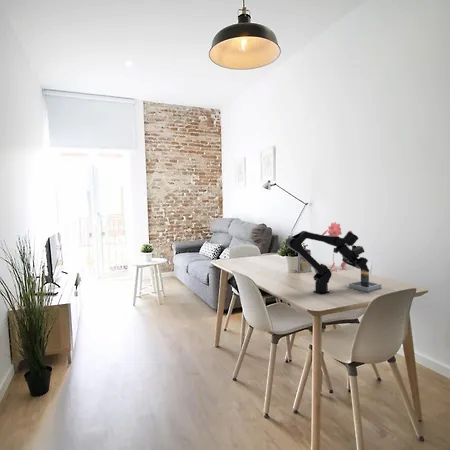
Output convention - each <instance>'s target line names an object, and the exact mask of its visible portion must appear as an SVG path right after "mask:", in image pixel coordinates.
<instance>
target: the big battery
mask: <svg viewBox="0 0 450 450" xmlns="http://www.w3.org/2000/svg"><path fill="white" fill-rule="evenodd" d="M360 281H361V286H364V287H369V282H370V271H369V272H366V271H364V270H362V269H360Z"/></svg>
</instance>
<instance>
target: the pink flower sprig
mask: <svg viewBox="0 0 450 450" xmlns="http://www.w3.org/2000/svg"><path fill="white" fill-rule="evenodd" d="M348 232H351V233H353V231H352V230H349V231H347V233H348ZM327 233H328V235H332V236H338V237H340V236H341V235H343V233H342V228H341V224H340V223H337V222H336V221H335V222H331V223H330V225H329V226H328V229H326V230H325V231H324V232H323V233H322V234H321V235H325V234H327ZM353 234H354V233H353ZM325 236H326V235H325ZM335 254H336V253H335V252H333V254H332V265H331V266H330V267H328V266H327V267H328V269H330V271H331V270H332V269H333V268H334V270H335V272H337V269H336V265H335V262H334V261H335V260H334V258H335V257H334V256H335ZM346 265H347V264H346V263H344V262H343V261H342V262H341V264H340V267H341V268H342V269H344V268H345V271H347V270H348V269H347V267H346ZM352 269H354V267H353V268H352Z"/></svg>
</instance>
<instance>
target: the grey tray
mask: <svg viewBox="0 0 450 450" xmlns="http://www.w3.org/2000/svg"><path fill="white" fill-rule="evenodd" d="M348 288H349V289H352V290H357V291H360V292H365V293H370V292H375V291H377V290H381V289H382V284H381V283H376V282H372V281H369V287H364V286H361V280H359V281H354V282H350V283H348Z"/></svg>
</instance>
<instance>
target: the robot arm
mask: <svg viewBox="0 0 450 450" xmlns="http://www.w3.org/2000/svg"><path fill="white" fill-rule="evenodd" d="M307 239H308V240H314V241H317V242H323V243H325V244H327V245H329V246H332V247H333V253H334V252H335V253H334V254H338V253H339V254H340V255H341V257H342V262H344V263H346V265H349V266H350V267H351V266H352V267H353V268H356V269H358V270H361V269H362V270H364V271H366V272H369V273H370V269H369V267H368V264H367V263H368V262H369V259H367V258H366V257H364V256H360V255H361V254H363V253H366V252H365V248H364V246H361V245H355V243H356V242H357V241H358V240H359V236H357V235H356V234H354V233H351V232H348V231H347V233H346V234H345V235H344V236H343V237H340V236H339V237H338V236H332V235H329V234H328V235H322V234H320V233H313V232H311V231H310V232H309V231H307V230H302V231H300V232H297V234H295V235H293V236H290V237H288V238H287V239H286V240H285V245H286V246H287V248H289V249H290V250H292V251H294V252H295V253H296V252H297V253H298V254H299V255H300V256H301V257H302V258H303V259H304V260H305V261H306V262H307V263H309V264H310V265H311V268H312V269H313V270H314V272H315V274H314V275H313V281H315V284H314V285H315V290H313V293H317V294H320V295H325V294H328V293H330V290H329V288H328V284H329V282H330V279H331V278H332V271H331V270H330V268H328V266H327V265H325V264H324V263H319V262H318V261H317V260H316V259H315V258H314V257H312V254H311V255H310V254H308V253H307V252H306V251H305V250H304V249H305V248H304V247H303V245H302V243H304V242H305V240H307ZM350 247H351V248H350Z"/></svg>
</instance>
